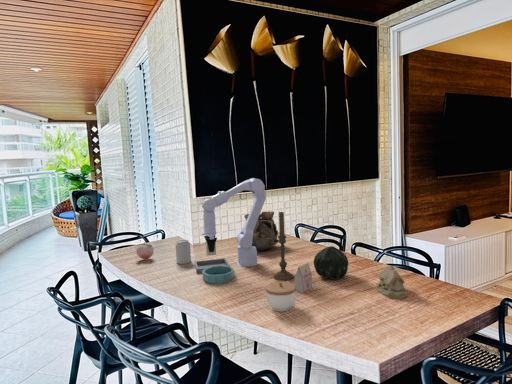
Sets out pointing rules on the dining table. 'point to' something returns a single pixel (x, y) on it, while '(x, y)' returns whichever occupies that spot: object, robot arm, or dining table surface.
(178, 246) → the can
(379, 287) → the ceramic model
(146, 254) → the decorative fruit
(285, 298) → the lidded jar
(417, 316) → the dining table surface
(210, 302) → the dining table surface
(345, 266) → the squash
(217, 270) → the bowl
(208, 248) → the gray rectangular block
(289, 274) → the candlestick holder
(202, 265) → the parts tray
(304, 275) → the milk carton
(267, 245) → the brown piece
